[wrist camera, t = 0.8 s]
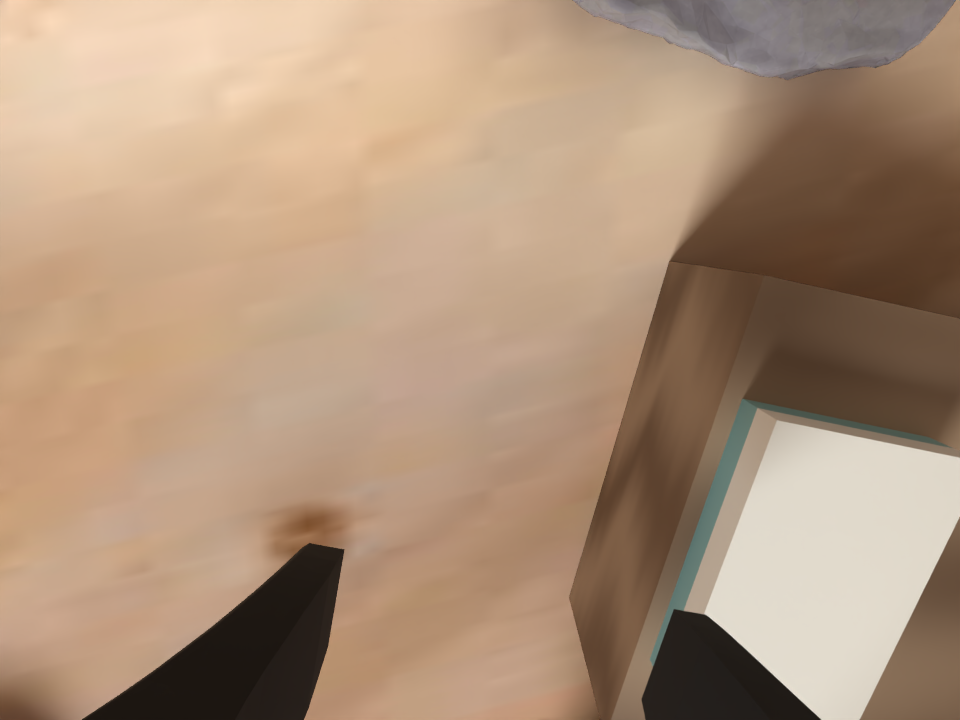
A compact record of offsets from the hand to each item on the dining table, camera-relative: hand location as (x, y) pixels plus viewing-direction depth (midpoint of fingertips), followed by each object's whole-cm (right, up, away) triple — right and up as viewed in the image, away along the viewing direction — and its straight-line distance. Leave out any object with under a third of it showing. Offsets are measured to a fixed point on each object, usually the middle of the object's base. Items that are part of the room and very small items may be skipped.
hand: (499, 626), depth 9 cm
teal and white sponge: (+8, 0, +5) cm, 9 cm away
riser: (+11, 0, +11) cm, 15 cm away
